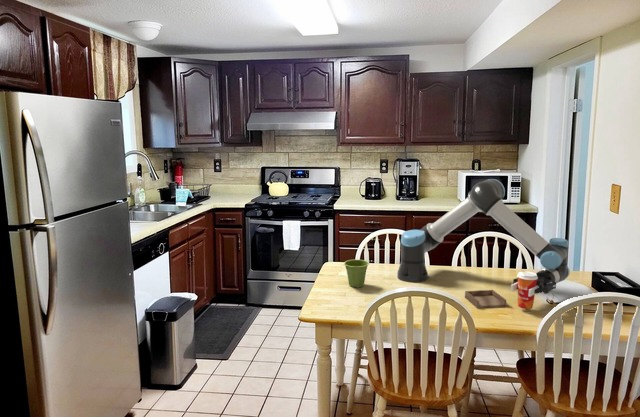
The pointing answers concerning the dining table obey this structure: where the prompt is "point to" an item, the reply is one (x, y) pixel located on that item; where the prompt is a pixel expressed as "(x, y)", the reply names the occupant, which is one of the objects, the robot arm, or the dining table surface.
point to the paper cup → (526, 289)
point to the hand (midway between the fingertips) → (520, 290)
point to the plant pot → (356, 272)
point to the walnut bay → (485, 299)
